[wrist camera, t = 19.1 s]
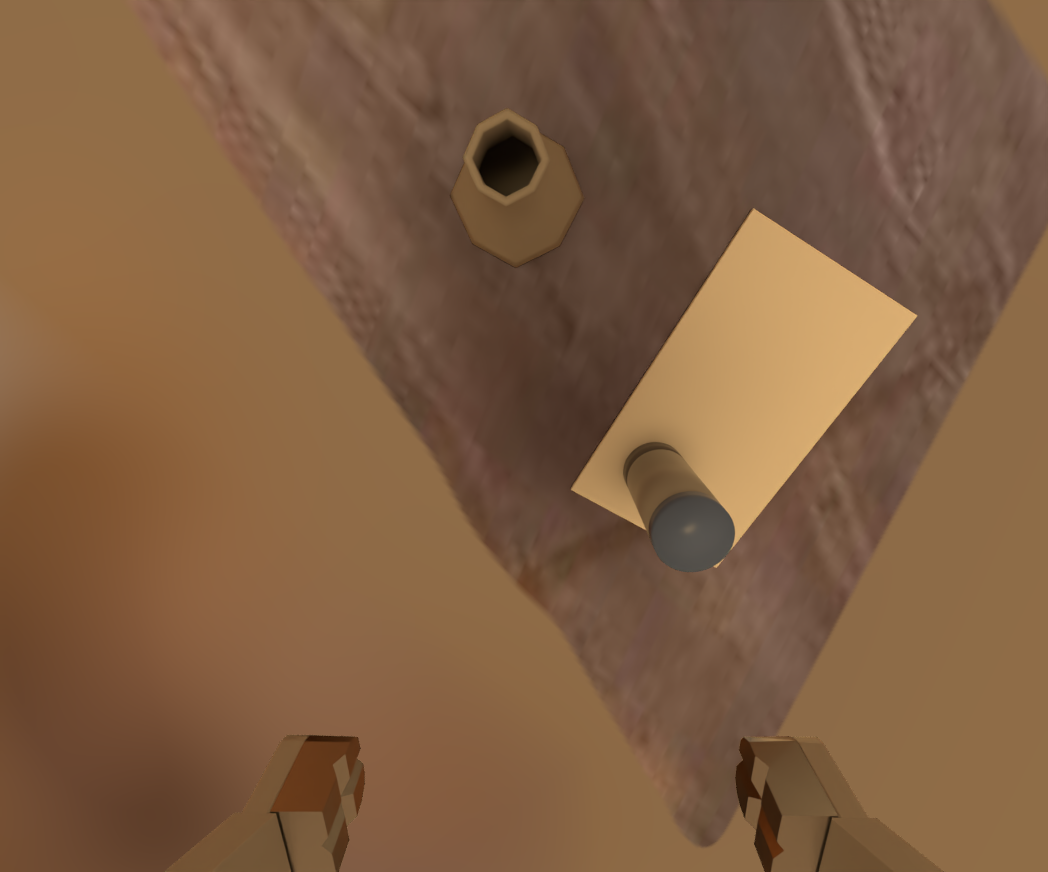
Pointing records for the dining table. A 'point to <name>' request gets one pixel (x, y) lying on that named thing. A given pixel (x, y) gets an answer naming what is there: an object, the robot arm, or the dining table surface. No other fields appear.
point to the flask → (515, 189)
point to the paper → (751, 373)
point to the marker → (677, 509)
